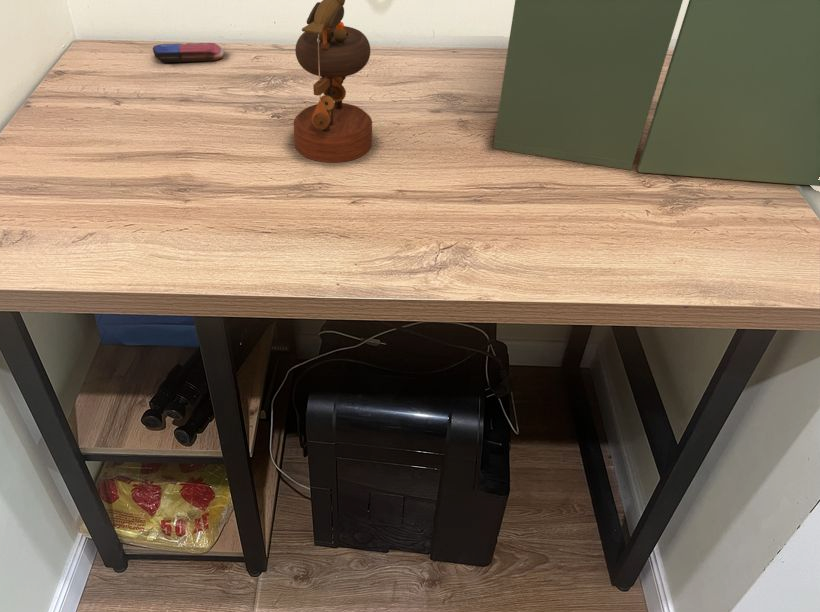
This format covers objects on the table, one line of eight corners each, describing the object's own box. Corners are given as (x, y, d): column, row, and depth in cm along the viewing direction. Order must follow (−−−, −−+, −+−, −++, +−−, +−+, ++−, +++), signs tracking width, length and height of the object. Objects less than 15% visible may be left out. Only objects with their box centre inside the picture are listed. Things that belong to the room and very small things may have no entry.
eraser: (223, 51, 120) (222, 41, 119) (224, 61, 117) (223, 50, 116) (154, 53, 118) (153, 42, 117) (153, 63, 115) (152, 52, 114)
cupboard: (639, 88, 110) (691, -94, 93) (631, 170, 92) (694, -37, 75) (522, 72, 114) (552, -105, 97) (492, 148, 96) (523, -53, 79)
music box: (373, 170, 92) (361, 6, 78) (289, 173, 93) (263, 12, 79) (379, 116, 103) (369, -36, 89) (303, 119, 104) (283, -31, 90)
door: (873, 214, 85) (1002, -2, 68) (644, 196, 87) (714, -16, 71) (853, 185, 89) (968, -24, 73) (636, 168, 92) (700, -36, 75)
